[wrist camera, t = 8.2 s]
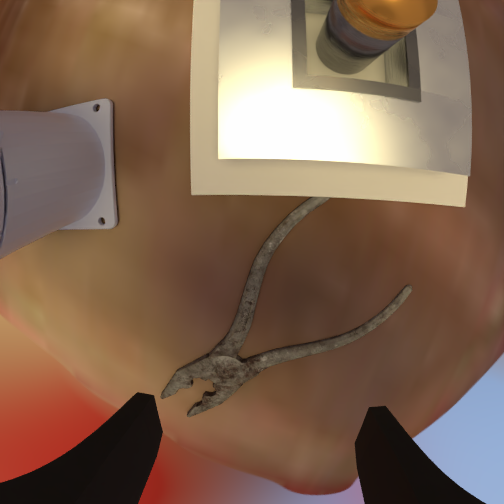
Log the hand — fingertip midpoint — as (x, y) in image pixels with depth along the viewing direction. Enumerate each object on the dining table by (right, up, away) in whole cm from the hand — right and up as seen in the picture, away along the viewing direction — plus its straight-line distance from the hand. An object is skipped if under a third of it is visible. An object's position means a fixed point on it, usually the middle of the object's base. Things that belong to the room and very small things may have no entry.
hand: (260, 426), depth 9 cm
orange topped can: (+4, +16, +4) cm, 18 cm away
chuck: (+5, +16, +5) cm, 18 cm away
